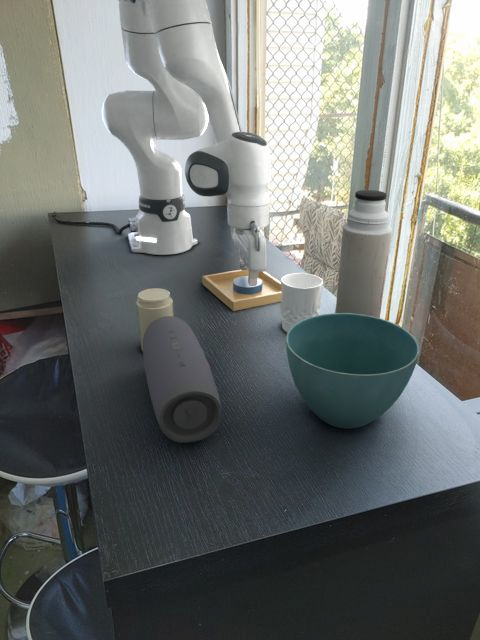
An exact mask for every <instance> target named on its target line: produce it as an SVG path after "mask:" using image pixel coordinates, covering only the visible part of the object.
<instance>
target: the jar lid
mask: <svg viewBox="0 0 480 640" xmlns="http://www.w3.org/2000/svg"><path fill="white" fill-rule="evenodd" d="M262 284H263V282H262V280H261V279H259V278H257V285H256V286H250V285H249V283H248V276H246V277H239V278H236V279H234V281H233V290H234V291H235V292H237V293H240V294H256V293H259V292H261V291H262Z"/></svg>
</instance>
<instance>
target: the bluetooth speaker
mask: <svg viewBox="0 0 480 640" xmlns="http://www.w3.org/2000/svg"><path fill="white" fill-rule="evenodd" d="M142 354H143V355H142V356H143V364H144V372H145V376H146V378H145V379H146V383H147V388H148V393H149V398H150V401H151V404H152V407H153V410H154V414H155V417H156V420H157V423H158V425H159V427H160V429H161V431H162V433H163V434H164V435H165V436H166V437H167V438H168V439H170V440H172V441H174V442H176V443H181V444H182V443H185V444H186V443H194V442H198V441H201V440H205V439H206V438H208V437H210V436H211V435H213V433H214V432H215V431H216V430H217V428H218V427H219V426H220V424H221V421H222V417H223V411H222V410H223V409H222V404H221V403H222V402H221V399H220V394H219V391H218V388H217V385H216V382H215V378H214V376H213V373H212V371H211V366H210V363H209V362H208V359H207V357H206V355H205V353H204V351H203V349H202V346H201V344H200V342H199V340H198V338H197V336H196V333H195V332H194V331H193V330H192V328H191V327H190V325H189V324H188V323H187V322H186V321H185V320H183V319H182V318H179V317H178V316H174V317H173V316H165V317H161V318H158V319H156V320H154V321H153V322H152V323H151V324H150V325H149V326H148V327H147V329H146V331H145V333H144V336H143V351H142Z"/></svg>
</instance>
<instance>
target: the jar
mask: <svg viewBox="0 0 480 640" xmlns="http://www.w3.org/2000/svg"><path fill="white" fill-rule="evenodd" d="M135 305H136V313H137V314H136V315H137V320H138V321H137V322H138V331H139V339H140V340H139V341H140V349H141V351H142V352H143V336H144V333H145V331H146V329H147V327H148V326H149V325H150V324H151V323H152V322H153V321H154V320H156V319H158V318H161V317H165V316H173V317H175V316H174V315H175V314H174V313H175V311H174V300H173V298H172V297H171V293H170V291H169V290H167V289H164V288H158V287H154V288H147V289H143V290H141V291H140V292H139V293H137V300H136V304H135Z"/></svg>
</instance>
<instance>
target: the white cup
mask: <svg viewBox="0 0 480 640" xmlns="http://www.w3.org/2000/svg"><path fill="white" fill-rule="evenodd" d="M280 282H281V302H280V305H281V307H280V308H281V310H280V311H281V328H282V329H283V331H284V332H286V333H288V331H289V330H290V328H291V327H292V326H294V325H295V324H296V323H298V322H300V321H302V320H304V319H307V318H310V317H313V316H318V315H320V309H321V301H322V293H323V287H324V280H323V278H321V277H320V276H319V275H316V274H313V273H306V272H294V273H288V274H286V275H284V276H282V277H281V279H280Z"/></svg>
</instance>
